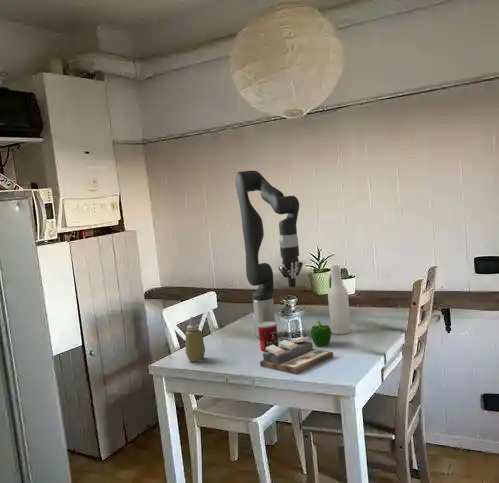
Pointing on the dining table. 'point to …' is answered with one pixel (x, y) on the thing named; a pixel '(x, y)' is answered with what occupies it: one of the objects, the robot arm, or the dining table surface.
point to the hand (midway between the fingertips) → (292, 287)
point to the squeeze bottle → (194, 342)
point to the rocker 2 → (288, 344)
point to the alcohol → (338, 304)
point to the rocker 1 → (275, 350)
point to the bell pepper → (321, 334)
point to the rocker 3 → (299, 339)
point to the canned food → (267, 335)
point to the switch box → (295, 358)
